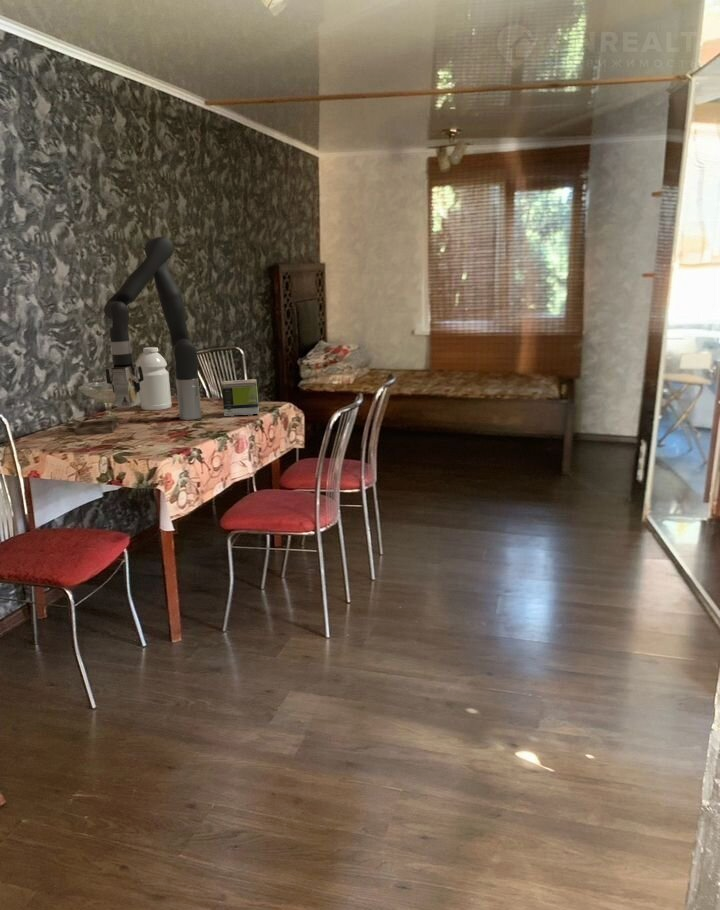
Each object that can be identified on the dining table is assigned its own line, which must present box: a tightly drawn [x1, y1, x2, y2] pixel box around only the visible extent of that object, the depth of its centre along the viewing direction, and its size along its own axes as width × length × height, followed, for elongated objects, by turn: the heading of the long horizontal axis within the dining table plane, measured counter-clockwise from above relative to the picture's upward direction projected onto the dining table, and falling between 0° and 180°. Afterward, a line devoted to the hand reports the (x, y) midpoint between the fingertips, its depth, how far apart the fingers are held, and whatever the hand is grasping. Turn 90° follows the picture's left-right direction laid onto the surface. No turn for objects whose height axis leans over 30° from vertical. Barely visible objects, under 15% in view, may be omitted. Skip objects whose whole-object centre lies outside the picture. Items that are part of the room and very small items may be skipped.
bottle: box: [136, 346, 173, 411], centre depth 321 cm, size 14×14×28 cm
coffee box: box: [110, 363, 141, 408], centre depth 279 cm, size 9×6×16 cm
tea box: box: [221, 378, 260, 417], centre depth 304 cm, size 15×10×15 cm
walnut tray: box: [73, 419, 117, 436], centre depth 280 cm, size 14×14×2 cm
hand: (127, 392), depth 280 cm, fingers closed on coffee box, 8 cm apart
